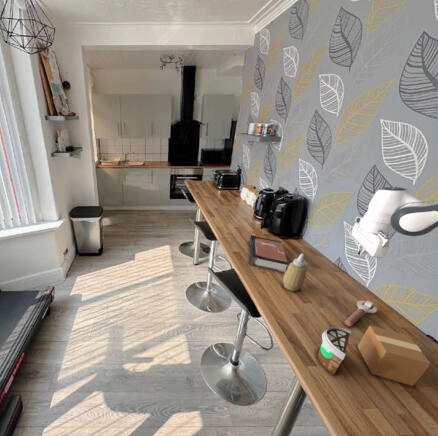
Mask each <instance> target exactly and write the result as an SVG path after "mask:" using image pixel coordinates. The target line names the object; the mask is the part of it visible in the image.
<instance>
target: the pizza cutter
mask: <svg viewBox="0 0 438 436" xmlns="http://www.w3.org/2000/svg"><path fill="white" fill-rule="evenodd" d="M356 306H357V309H356V310H355V311H354V312H353V313H352V314H351V315H350V316H348V317H347V318H346V319H345V320H344V325H346V326H347V327H352V326H353V325H354V324H355V323H356V322H358V321H359V320H360V319H361V318H362V317H363V316H364V315H366V313H368V314H375V313H376V312H377V311H378V307H377V306H376V305H374V302H372V301H369V300H368V299H367V300H359V301H357V302H356Z"/></svg>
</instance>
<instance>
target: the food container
mask: <svg viewBox="0 0 438 436" xmlns="http://www.w3.org/2000/svg"><path fill="white" fill-rule="evenodd" d="M351 334H352V331H351V330H349V329H346V328H344V327H340V326H331V327H328V328H326V329H325V330H324V331H323V332H322V334H321V340H322V341H321V345H320V348H319V351H318V352H317V353H318V354H317V358H318V360H319V362H320V364H321V365H322V366H323V367H324V369H326V370H327V371H328V372H329V373H330V374H332V375H335V373H336V372H337V370H338V368H339V366H340V365H341V363H342V361H343V360H344V359H345V357H346V355H347V354H346V351H347V346H348V343H349V338H350V335H351Z"/></svg>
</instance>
